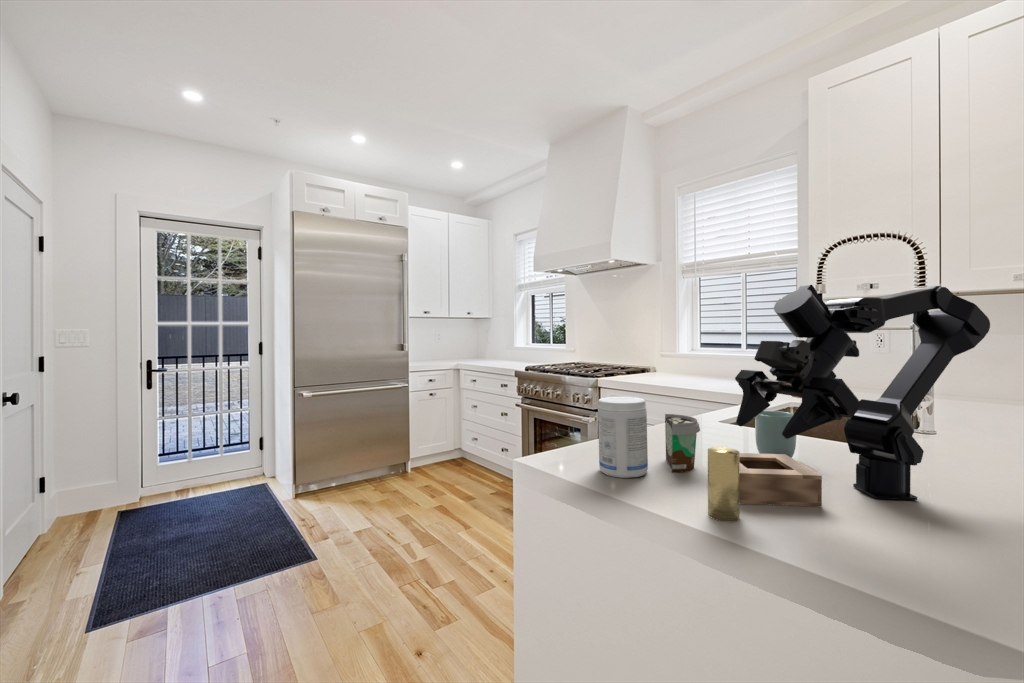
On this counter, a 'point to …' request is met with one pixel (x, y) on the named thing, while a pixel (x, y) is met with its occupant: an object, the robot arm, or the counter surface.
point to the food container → (680, 442)
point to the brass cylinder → (723, 484)
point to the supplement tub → (622, 436)
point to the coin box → (778, 481)
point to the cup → (773, 433)
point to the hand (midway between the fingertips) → (759, 430)
